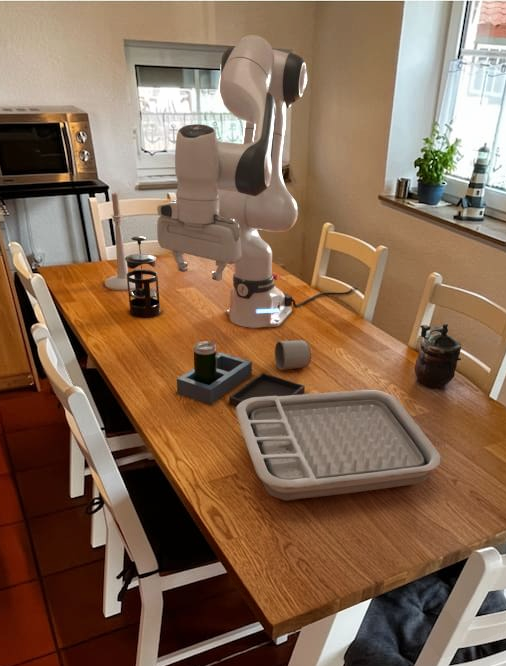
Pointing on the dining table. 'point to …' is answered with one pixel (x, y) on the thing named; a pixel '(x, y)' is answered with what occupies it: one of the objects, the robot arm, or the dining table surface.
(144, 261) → the french press
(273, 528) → the dining table surface
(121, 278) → the candlestick
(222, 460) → the dining table surface
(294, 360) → the ceramic mug
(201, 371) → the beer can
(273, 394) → the tray
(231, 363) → the frame
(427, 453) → the dish rack
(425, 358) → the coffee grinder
